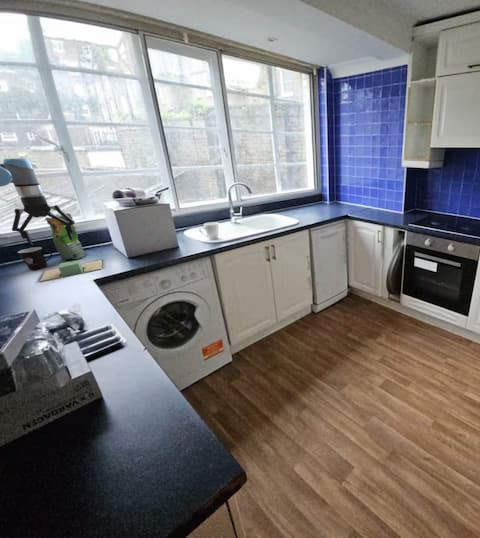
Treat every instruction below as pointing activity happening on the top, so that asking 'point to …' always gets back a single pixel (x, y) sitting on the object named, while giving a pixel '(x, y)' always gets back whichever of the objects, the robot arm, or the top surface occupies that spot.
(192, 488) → the top surface
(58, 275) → the beige flat board
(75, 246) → the pouch
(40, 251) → the coffee mug
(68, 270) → the green block
